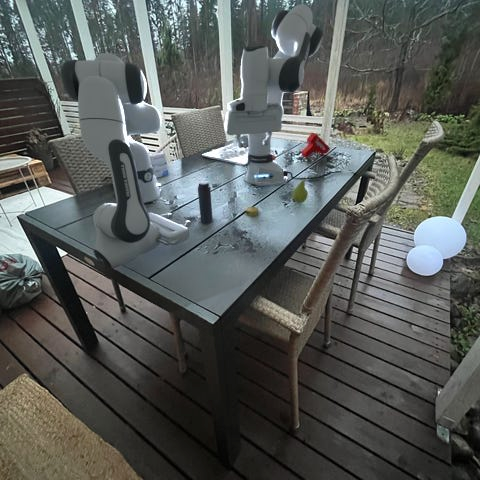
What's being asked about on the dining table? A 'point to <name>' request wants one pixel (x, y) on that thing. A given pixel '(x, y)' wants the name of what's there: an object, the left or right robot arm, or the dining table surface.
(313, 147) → the toy gun
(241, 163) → the relief map
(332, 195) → the dining table surface
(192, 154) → the dining table surface
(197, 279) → the dining table surface
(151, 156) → the ink box
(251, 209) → the lid
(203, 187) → the jar
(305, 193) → the fruit
